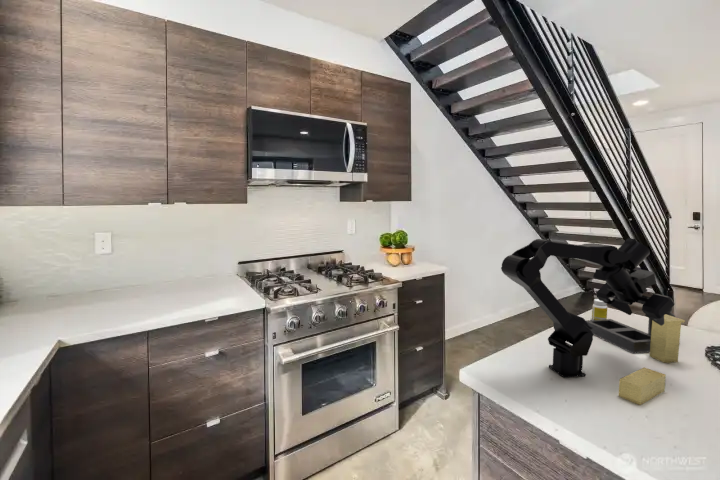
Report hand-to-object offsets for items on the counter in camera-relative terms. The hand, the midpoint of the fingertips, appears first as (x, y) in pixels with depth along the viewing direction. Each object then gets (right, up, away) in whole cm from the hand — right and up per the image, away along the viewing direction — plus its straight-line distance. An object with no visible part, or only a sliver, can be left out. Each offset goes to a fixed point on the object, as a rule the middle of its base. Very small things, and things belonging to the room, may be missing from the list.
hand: (646, 319), depth 102 cm
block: (-13, -15, -15) cm, 25 cm away
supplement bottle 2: (+19, -11, +17) cm, 28 cm away
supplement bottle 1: (+10, -9, +35) cm, 38 cm away
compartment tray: (+6, -11, +18) cm, 21 cm away
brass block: (+8, -12, +3) cm, 15 cm away
